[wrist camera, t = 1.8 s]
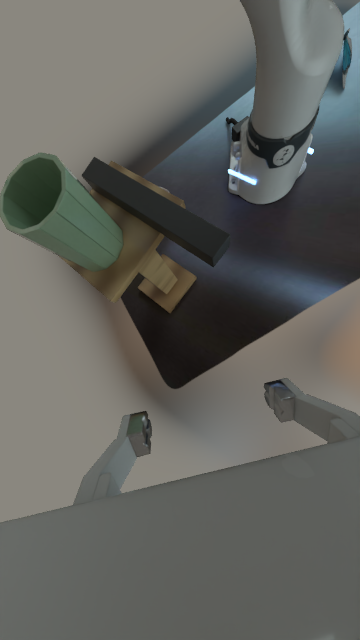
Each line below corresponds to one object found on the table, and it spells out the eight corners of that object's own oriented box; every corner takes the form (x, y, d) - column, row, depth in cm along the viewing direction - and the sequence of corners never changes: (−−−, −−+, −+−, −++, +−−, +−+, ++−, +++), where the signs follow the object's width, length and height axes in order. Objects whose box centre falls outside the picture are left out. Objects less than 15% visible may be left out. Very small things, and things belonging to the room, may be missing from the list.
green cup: (74, 226, 26) (0, 169, 17) (121, 212, 24) (65, 140, 15) (76, 276, 25) (-3, 242, 16) (125, 264, 23) (66, 220, 14)
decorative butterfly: (376, 23, 40) (366, 43, 38) (353, 70, 46) (343, 90, 44) (328, 24, 42) (316, 43, 40) (313, 68, 49) (301, 87, 46)
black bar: (93, 190, 26) (81, 175, 23) (105, 173, 26) (94, 156, 23) (213, 267, 20) (212, 258, 18) (229, 246, 20) (230, 234, 18)
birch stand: (133, 292, 52) (50, 248, 27) (166, 249, 51) (111, 160, 26) (168, 321, 48) (110, 301, 23) (204, 274, 47) (183, 200, 22)
